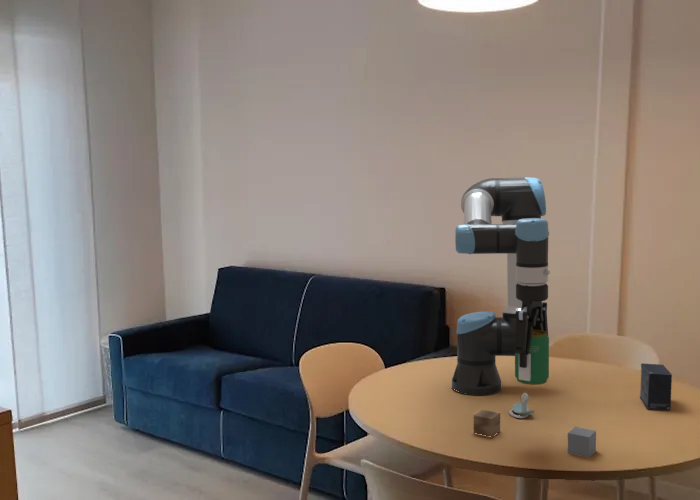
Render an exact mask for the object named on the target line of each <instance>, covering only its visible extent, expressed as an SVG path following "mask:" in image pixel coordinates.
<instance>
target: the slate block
mask: <svg viewBox="0 0 700 500" xmlns="http://www.w3.org/2000/svg"><path fill="white" fill-rule="evenodd" d="M596 451H597V430H595V429H589V428H585V427H579V426H574V427H573V428H571V429H570V430H569V431H568V432H567V454H570V455H575V456H580V457H583V458H590V457H591V456H592V455H593V454H594V453H596Z"/></svg>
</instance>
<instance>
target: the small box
mask: <svg viewBox="0 0 700 500" xmlns="http://www.w3.org/2000/svg"><path fill="white" fill-rule="evenodd" d="M672 380H673V374H672V373H671V372H670V371H669V370H668V368H666V366H665V365H664V364H654V363H640V390H639V391H640V393H639V399H640V401H641V402H642V404H643V406H644V407H645V409H646V410H648V411H649V410H653V411H668V412H669V411H671V407H672V406H671V403H672V385H673V384H672V382H673V381H672Z"/></svg>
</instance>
